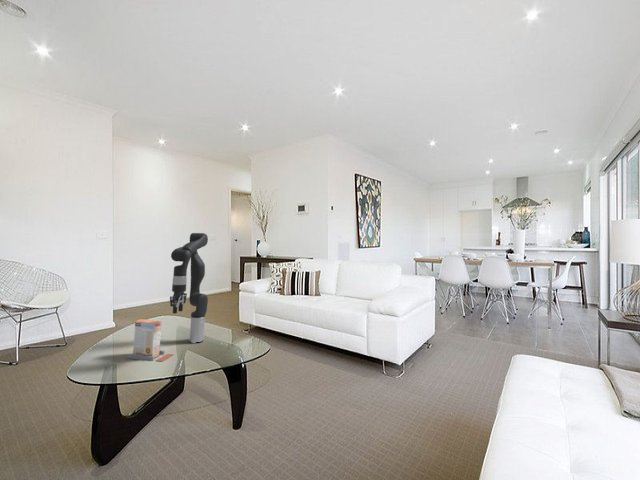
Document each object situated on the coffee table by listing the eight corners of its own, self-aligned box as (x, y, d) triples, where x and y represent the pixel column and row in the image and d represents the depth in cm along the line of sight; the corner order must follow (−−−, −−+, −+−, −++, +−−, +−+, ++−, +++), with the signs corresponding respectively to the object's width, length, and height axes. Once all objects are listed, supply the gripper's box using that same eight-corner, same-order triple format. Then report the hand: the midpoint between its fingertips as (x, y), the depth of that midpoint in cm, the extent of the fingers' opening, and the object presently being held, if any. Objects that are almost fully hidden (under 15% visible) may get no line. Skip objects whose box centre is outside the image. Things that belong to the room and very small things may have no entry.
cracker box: (159, 356, 179) (162, 321, 180) (151, 359, 173) (154, 323, 174) (141, 352, 183) (143, 318, 183) (132, 356, 177) (134, 320, 178)
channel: (140, 351, 184) (140, 348, 184) (164, 354, 183) (164, 350, 183) (127, 357, 174) (127, 354, 174) (152, 360, 172) (153, 357, 172)
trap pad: (167, 354, 183) (167, 353, 183) (173, 354, 182) (173, 354, 182) (155, 361, 172) (155, 360, 172) (162, 361, 171) (162, 361, 171)
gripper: (180, 281, 185) (178, 309, 184) (166, 284, 170) (164, 314, 170) (192, 282, 184) (190, 310, 183) (178, 285, 170) (176, 315, 169)
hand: (177, 312), depth 177 cm, fingers open, 5 cm apart
